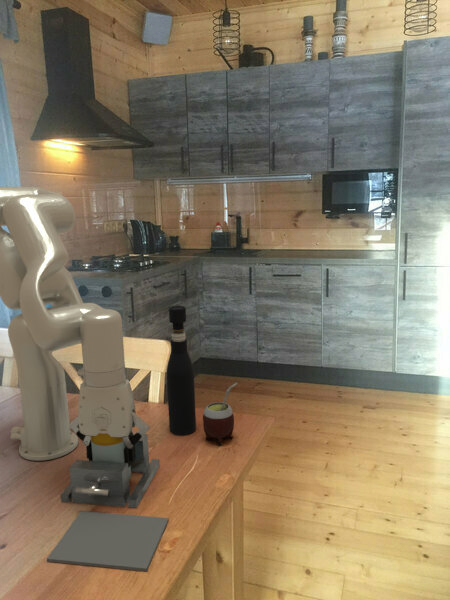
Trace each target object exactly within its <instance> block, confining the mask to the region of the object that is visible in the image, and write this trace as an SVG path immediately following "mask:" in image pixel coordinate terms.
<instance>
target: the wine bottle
mask: <svg viewBox="0 0 450 600" xmlns="http://www.w3.org/2000/svg"><path fill="white" fill-rule="evenodd" d="M168 316H169V318H168V319H169V323H171V324H172V332H171V335H170V336H171V339H170V350H171V351H170V354H169V358H168V362H167V367H166V388H167V405H168V406H167V407H168V424H169V425H168V426H169V427H168V428H169V433H170V434H172V435H175V436H182V437H183V436H188V435H191V434H193V433H194V432H196V430H197V418H196V416H197V415H196V394H195V393H196V391H195V373H194V366H193V362H192V359H191V357H190V354H189V351H188V340H187V339H186V332H185V327H184V326H185V325H184V323H186V322H187V307H186V306H183V305H173V306H170V307H169V308H168Z"/></svg>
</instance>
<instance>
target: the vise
mask: <svg viewBox="0 0 450 600" xmlns="http://www.w3.org/2000/svg"><path fill="white" fill-rule="evenodd" d="M136 433H137V432H136ZM136 433H135V432H134V434H136ZM148 436H149V435H148V433H145V434H144V435H143V436H142V438H141V439H140V440H139V441H138V442H137V443H136V444H135V453H136V458H135V461H134V462H132V464H131V473H143V474H142V476H141V478H140V479H139V481H138V482H137V484H136V485H135V487H134V489H133V491H132V493H131V490H130V489H131V488H130V482H129V472H128V463H119V462H104V461H89V459H87V460H85V459H75V461H74V462H73V464H71V466H70V467H69V469H68V470H69V478H70V479H69V480H70V483H69V484H68V485H66V487H65V488H64V490H63V491H62V492H61V494H60V500H61V501H60V502H61V503H70V502H71V501H72V504H79V505H80V504H82V505H95V506H105V507H107V506H108V507H119V508H125V507H126V505H127V503H128V507H127V508H133V509H137V508H138V506H139V505H140V503H141V500H142V499H143V497H144V495H145V493H146V492H147V490H148V488H149V486H150V484H151V482H152V481H153V479H154V477H155V476H156V474H157V472H158V470H159V468H160V463H161V462H160V458H151V460H150V454H149V453H150V452H149V440H148Z"/></svg>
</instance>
